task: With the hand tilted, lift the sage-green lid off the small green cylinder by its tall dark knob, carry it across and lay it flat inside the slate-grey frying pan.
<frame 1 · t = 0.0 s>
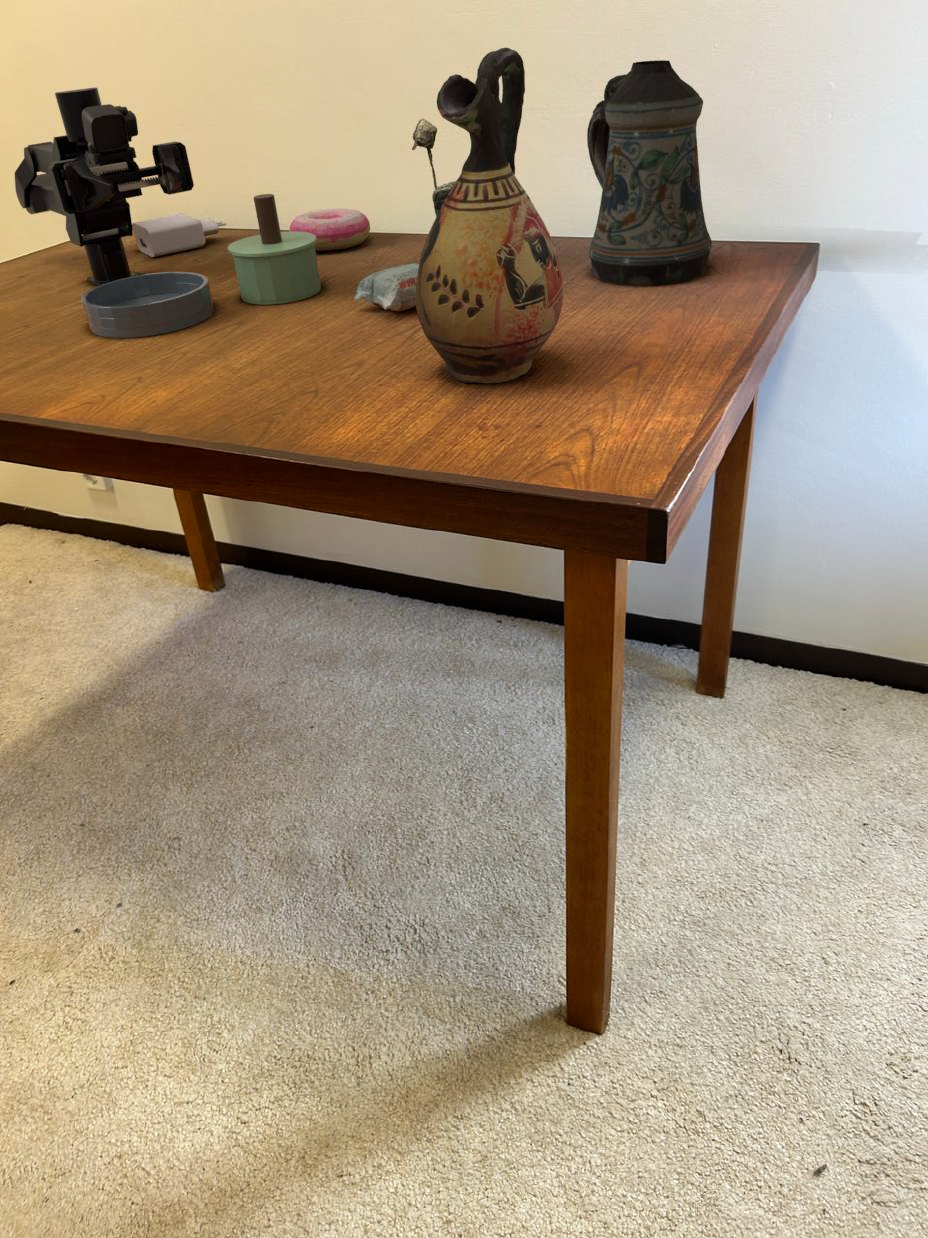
hand: (146, 182, 123), 17 cm above the table, tool horizontal, fingers open, 9 cm apart
ceramic jug: (497, 368, 104), on the table
plant with pod: (455, 268, 140), on the table
beer stein: (639, 270, 132), on the table
donut: (332, 246, 158), on the table
charger: (187, 246, 166), on the table
lid: (272, 245, 132), point 6 cm above the table, touching green cylinder
pan: (152, 317, 130), on the table
green cylinder: (281, 292, 136), on the table
packaged food: (409, 307, 125), on the table
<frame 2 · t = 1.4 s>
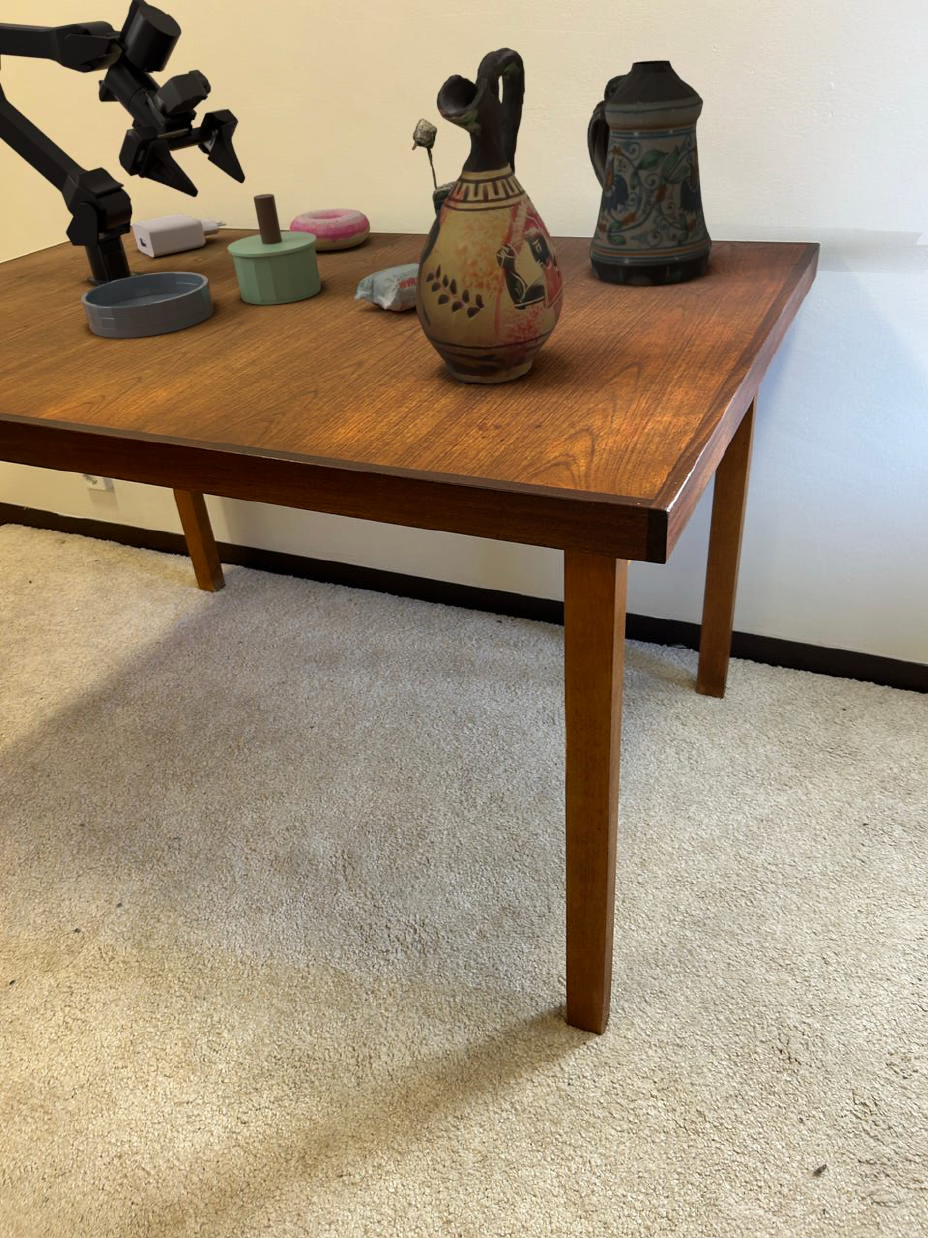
hand: (220, 187, 131), 14 cm above the table, tool tilted 45°, fingers open, 9 cm apart
nothing on the table moved.
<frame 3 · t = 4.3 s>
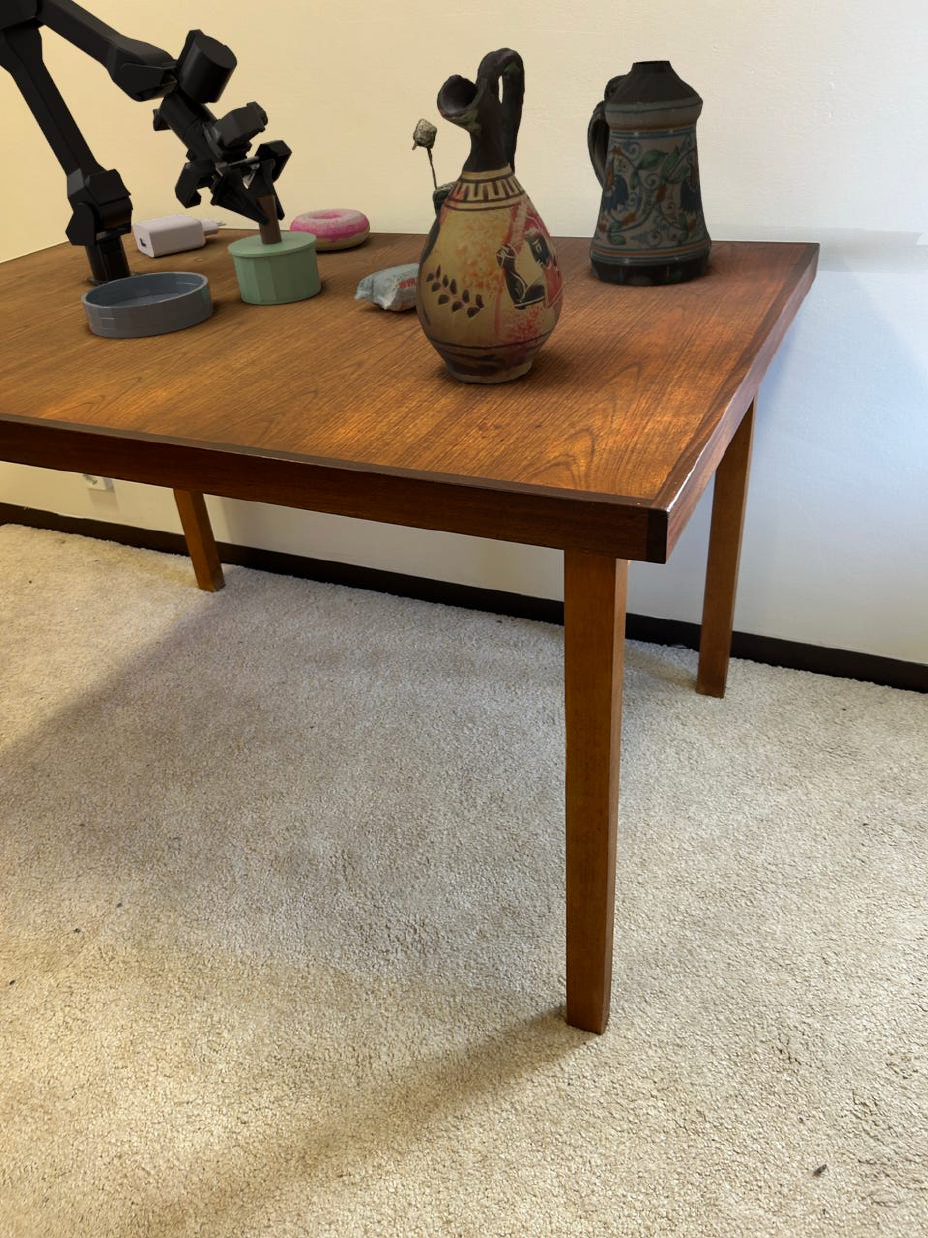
hand: (275, 220, 130), 10 cm above the table, tool tilted 45°, fingers closed on lid, 3 cm apart
lid: (272, 245, 132), point 7 cm above the table, touching gripper, green cylinder
everything else where it was.
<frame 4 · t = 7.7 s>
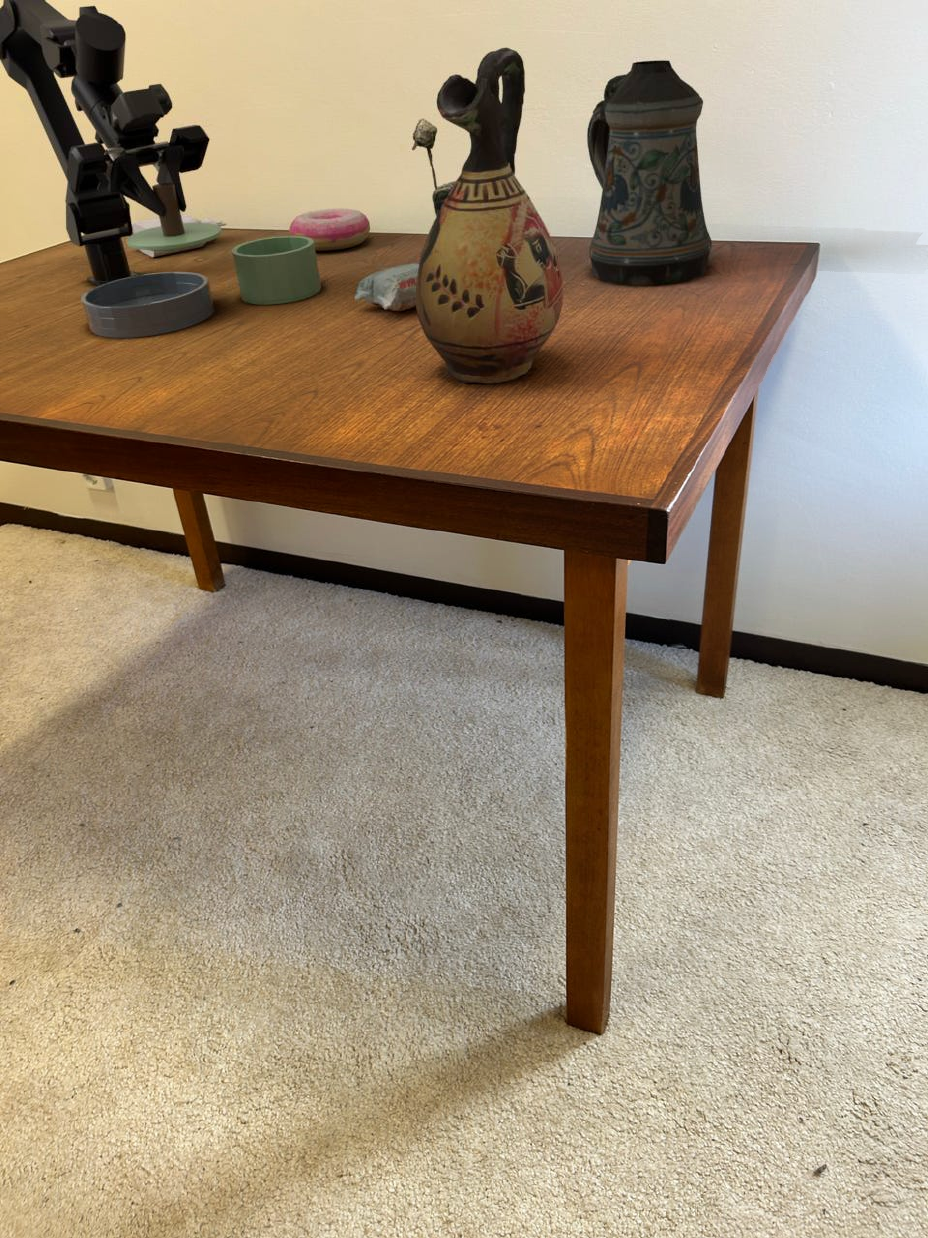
hand: (174, 211, 122), 13 cm above the table, tool tilted 45°, fingers closed on lid, 3 cm apart
lid: (175, 237, 125), point 10 cm above the table, touching gripper
everything else where it was.
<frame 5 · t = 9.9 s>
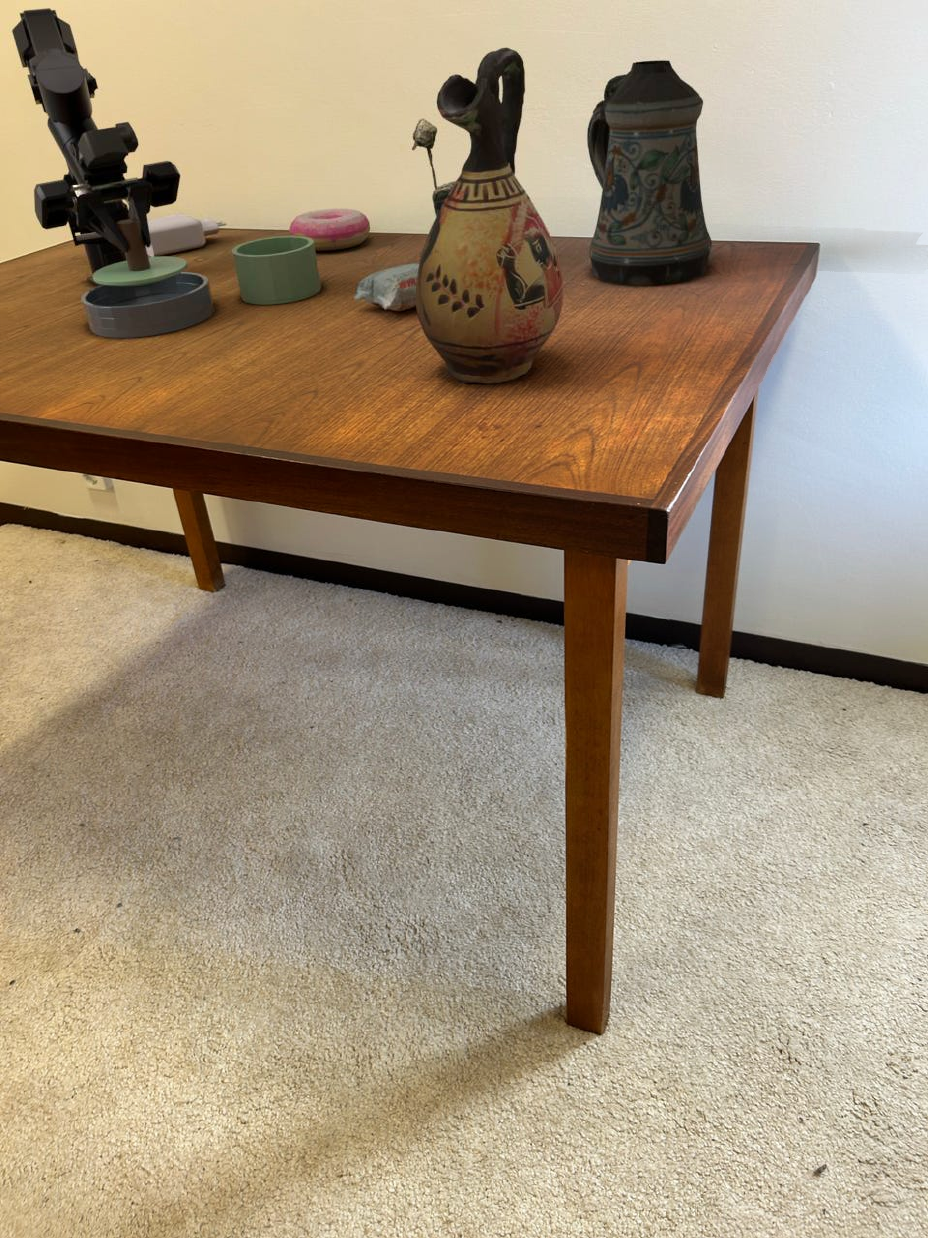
hand: (137, 247, 124), 9 cm above the table, tool tilted 45°, fingers closed on lid, 3 cm apart
lid: (141, 272, 127), point 6 cm above the table, touching gripper
everything else where it was.
when the fingers open (5 cm above the table, at t = 11.4 s): lid stays where it is, resting on pan.
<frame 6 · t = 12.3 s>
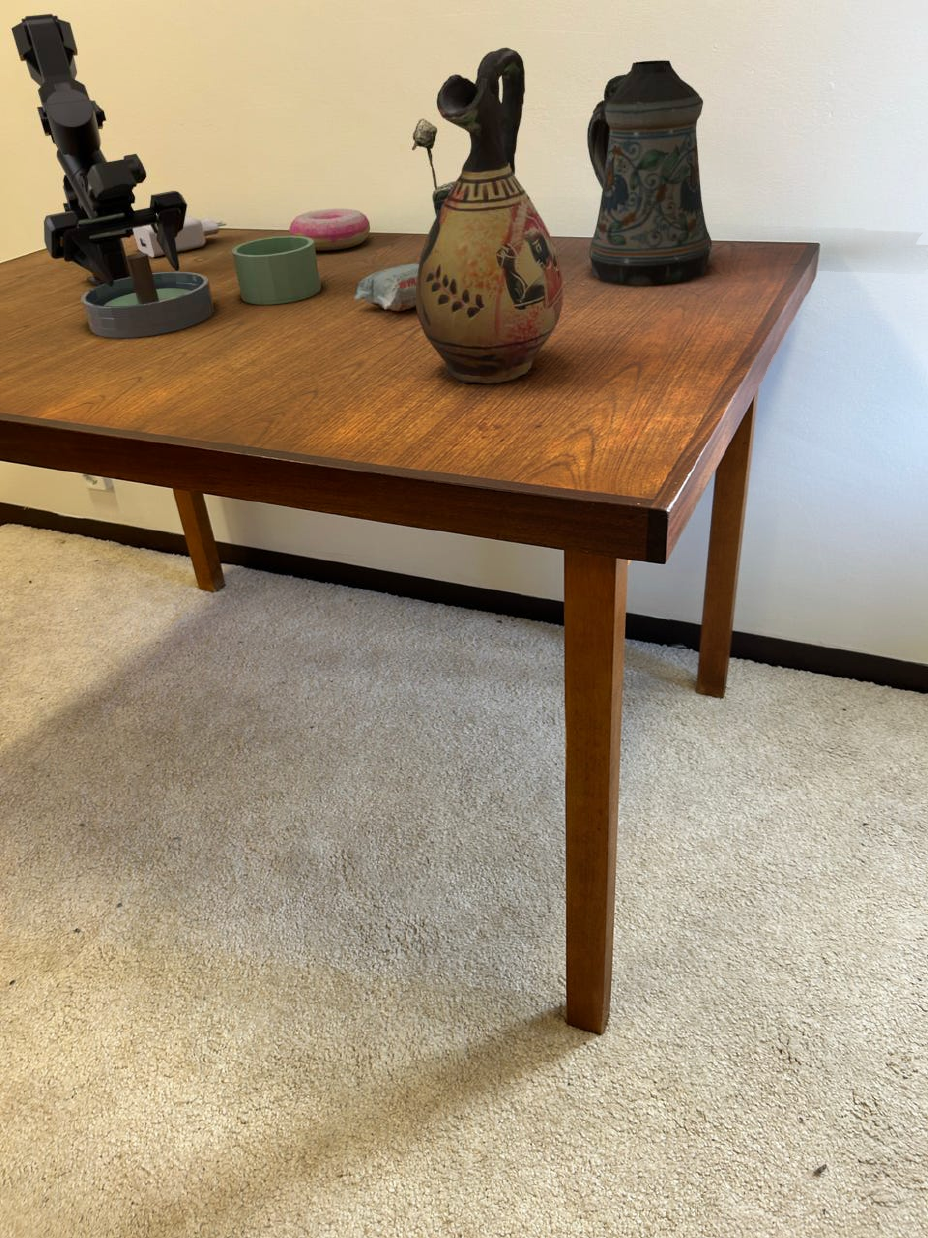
hand: (145, 276, 126), 6 cm above the table, tool tilted 45°, fingers open, 9 cm apart
lid: (149, 304, 129), point 2 cm above the table, touching pan
everything else where it was.
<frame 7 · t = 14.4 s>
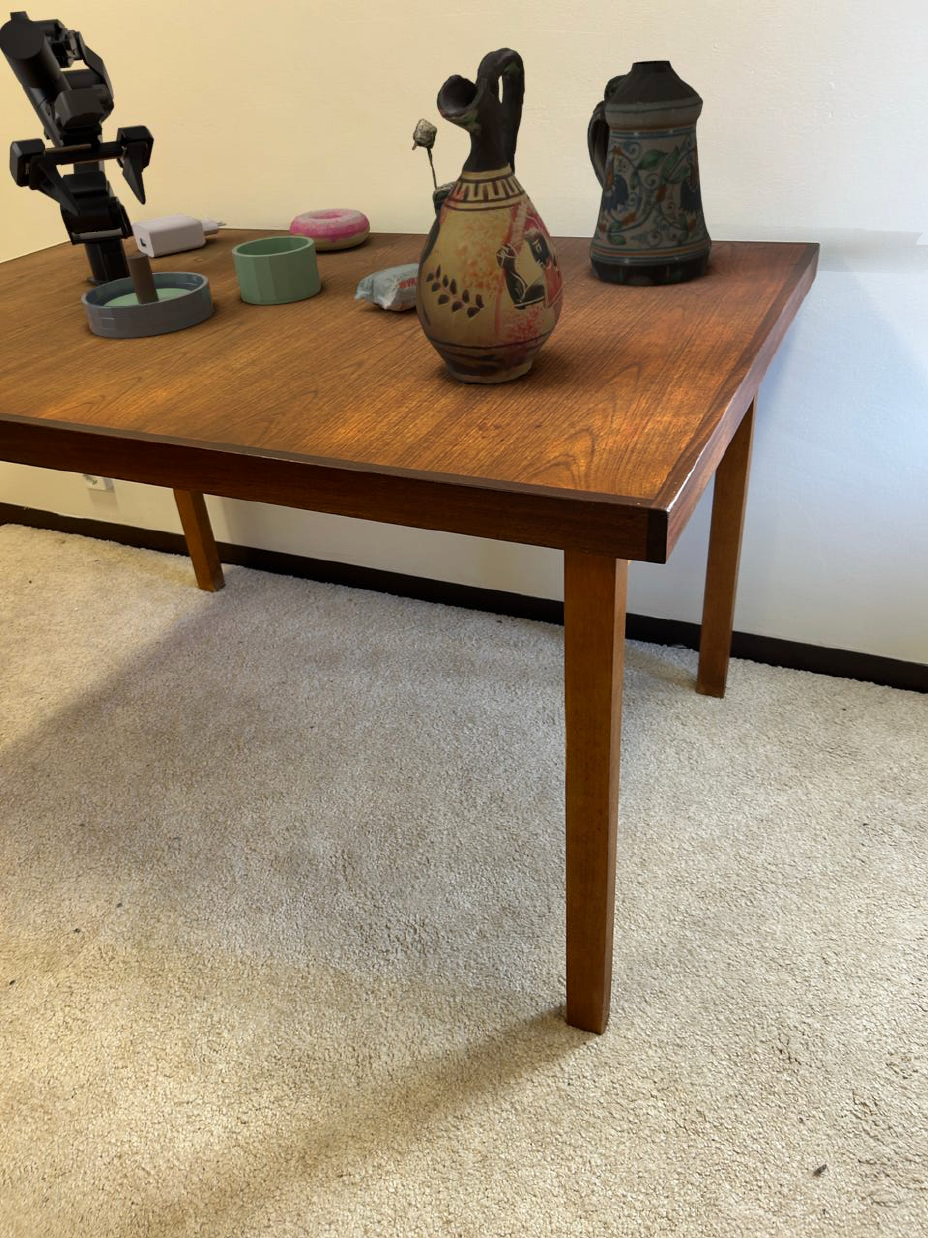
hand: (112, 208, 126), 14 cm above the table, tool tilted 45°, fingers open, 9 cm apart
nothing on the table moved.
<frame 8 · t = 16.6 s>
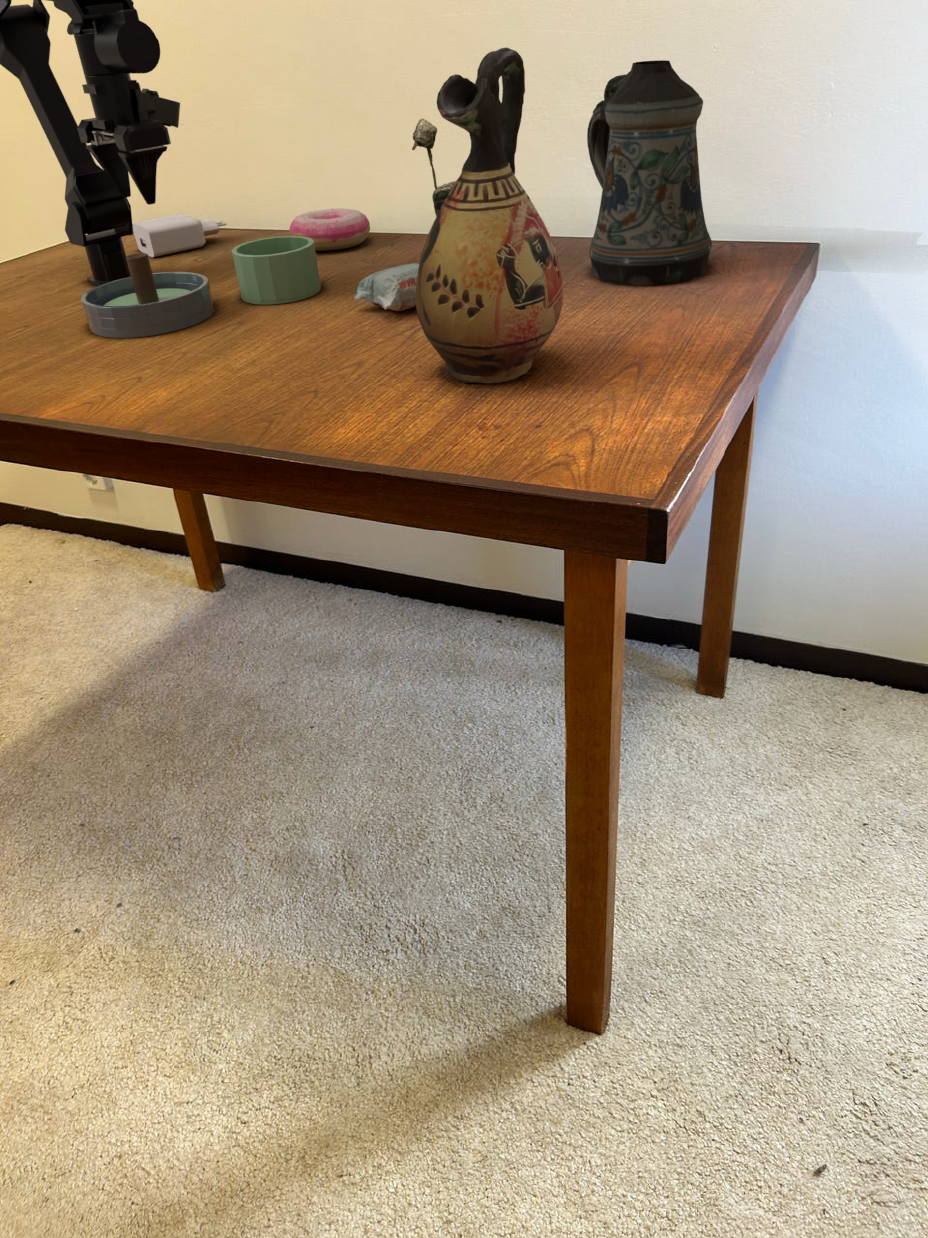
hand: (139, 200, 133), 13 cm above the table, tool pointing down, fingers open, 9 cm apart
nothing on the table moved.
at the end: lid 0.0 cm off-centre in the pan, point 1.8 cm above the pan's base; lid tilted 0°; the gripper is holding nothing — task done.
